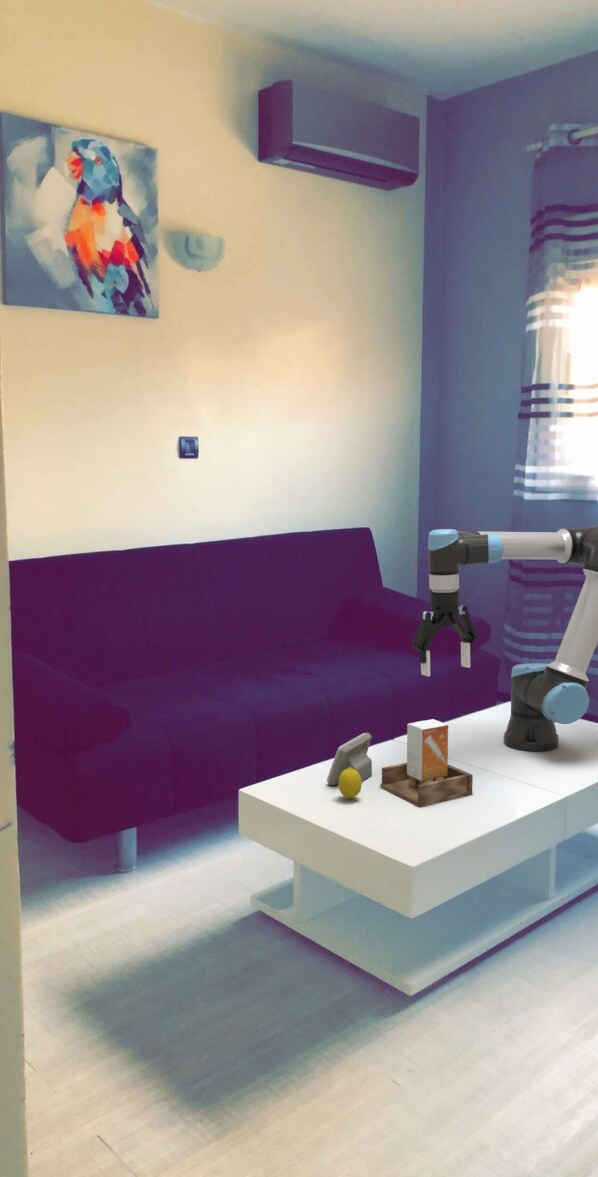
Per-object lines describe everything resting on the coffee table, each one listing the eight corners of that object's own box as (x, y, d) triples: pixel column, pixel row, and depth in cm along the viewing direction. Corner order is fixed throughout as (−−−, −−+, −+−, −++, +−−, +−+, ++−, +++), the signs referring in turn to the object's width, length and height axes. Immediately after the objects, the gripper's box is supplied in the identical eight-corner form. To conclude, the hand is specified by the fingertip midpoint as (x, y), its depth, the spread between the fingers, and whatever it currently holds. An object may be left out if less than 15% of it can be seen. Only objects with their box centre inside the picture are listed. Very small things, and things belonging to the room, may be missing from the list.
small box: (422, 781, 233) (422, 729, 231) (406, 774, 238) (406, 723, 237) (448, 775, 237) (448, 724, 235) (432, 768, 242) (432, 718, 241)
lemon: (364, 796, 235) (364, 765, 234) (358, 804, 230) (357, 772, 228) (342, 794, 236) (342, 762, 235) (335, 802, 231) (335, 770, 230)
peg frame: (431, 776, 249) (431, 757, 248) (472, 794, 235) (472, 774, 235) (380, 787, 241) (380, 768, 240) (419, 807, 227) (419, 786, 227)
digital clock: (357, 767, 257) (356, 728, 255) (384, 774, 251) (384, 735, 249) (316, 783, 245) (316, 742, 243) (344, 791, 239) (344, 749, 237)
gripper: (470, 583, 257) (472, 661, 260) (396, 594, 244) (399, 676, 247) (490, 585, 251) (491, 665, 254) (415, 597, 238) (417, 681, 241)
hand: (446, 671), depth 250 cm, fingers open, 13 cm apart
